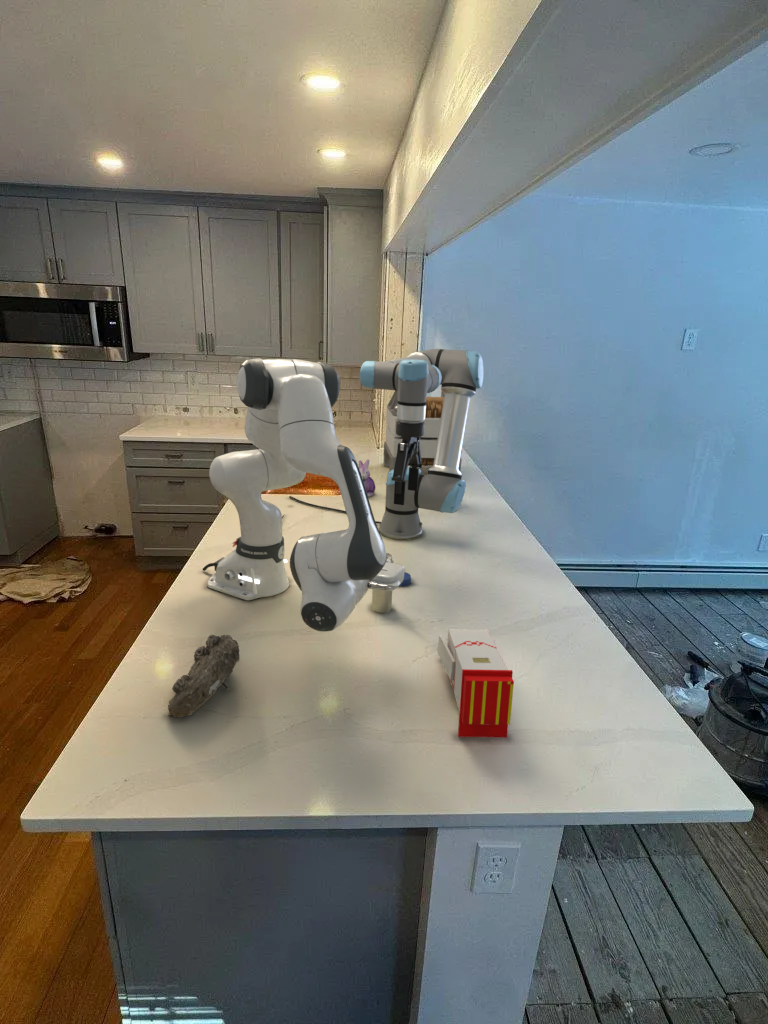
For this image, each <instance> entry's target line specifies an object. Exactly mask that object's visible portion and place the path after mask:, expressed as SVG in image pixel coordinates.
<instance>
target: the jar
mask: <svg viewBox="0 0 768 1024" xmlns="http://www.w3.org/2000/svg"><path fill="white" fill-rule="evenodd" d="M386 557H390V558H391V563H394V564H395V561H394V560H393V555H392V554H391V553H389V552H386ZM371 590H372V591H371V592H372V593H371V595H372V596H371V598H372V599H371V609H372V611H373V612H375V613H379V614H385V613H389V612H391V610H392V606H393V605H392V604H393V591H380V590H375V589H371Z"/></svg>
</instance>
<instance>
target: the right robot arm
mask: <svg viewBox="0 0 768 1024" xmlns="http://www.w3.org/2000/svg"><path fill="white" fill-rule="evenodd" d="M359 382H360V384H361V385H362V387H364V388H366V389H367V388H368V389H371V390H374V389H375V390H385V391H387V390H388V391H394V392H395V391H398V401H397V403H398V404H397V406H396V407H395V409H396V410H397V419H399V420H397V422H396V434H397V435H398V436H401V437H402V438H403V439H402V442H401V443H398V449H397V456H396V461H395V467H394V469H393V470H391V471H390V470H389V472H388V473H387V475H386V482H385V504H384V505H385V507H384V508H385V509H384V513H383V515H382V519H381V521H379V520H378V521H377V520H375V522H376V525H377V524H379V526H378V530H379V532H380V534H381V536H382V537H385V538H387V539H389V540H395V541H410V540H415V539H418V538H420V537H421V536H422V535H423V522H422V521H421V518H420V515H419V509H422V510H427V511H433V512H439V513H447V514H453V513H456V512H457V511H458V510H459V508H460V506H461V505H462V502H463V499H464V496H465V492H466V486H467V484H466V481H465V480H464V479H462V478H463V473H461V472H462V471H461V472H460V471H459V462H460V456H461V457H462V453H461V450H462V451H463V445H464V437H465V431H466V425H467V419H468V414H469V413H468V412H469V407H470V401H471V398H472V397H474V396H475V395H476V392H477V389H478V390H479V389H481V388H482V386H483V383H484V362H483V356H482V355H481V353H480V352H478V351H471V350H468V349H467V350H464V349H463V350H461V349H443V348H431V349H426V350H425V349H424V350H419V351H416V352H412V353H409V354H408V356H405V357H400V358H394V359H389V360H384V361H378V360H365V361H364V362H363V363H362V364H361V366H360V370H359ZM439 387H440V390H441V392H443V393H444V402H443V408H442V414H441V420H440V426H439V433H438V439H437V445H436V451H435V457H434V464H433V466H432V465H431V466H430V467H429V468H428V469H427V473H426V474H424V473H422V468H423V466H422V464H421V449H420V437H422V436H423V435H424V426H425V423H424V422H423V420H425V413H426V397H428V395H427V394H430V393H434V391H436V390H437V389H438V388H439ZM409 462H410V466H408V464H409ZM288 498H289V499H291V500H293V501H294V502H295V501H296V502H297V503H301V504H303V505H306V506H310V507H314V508H317V509H318V508H319V509H323V510H327V511H328V510H329V511H334V512H339V513H344V514H347V513H346V510H343V509H340V508H339V509H338V508H333V507H328V506H322V505H318V504H314V503H309V502H306V501H303V500H300V499H298V498H296V497H294V496H292V495H289V496H288Z"/></svg>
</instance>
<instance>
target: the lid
mask: <svg viewBox="0 0 768 1024" xmlns="http://www.w3.org/2000/svg"><path fill="white" fill-rule="evenodd" d="M411 582H412V576H411V574H410V573H408V572H406V571H404V580H403V582H402V583H401V584H400V585H399V586H398V587H407V586H409V585H411Z"/></svg>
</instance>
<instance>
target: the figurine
mask: <svg viewBox="0 0 768 1024" xmlns="http://www.w3.org/2000/svg"><path fill="white" fill-rule="evenodd" d="M369 465H370V460H369V459H365V462H364V463H363V461H362V460H361V459H360V460H358V467H359V469H360V473H361V476H362V479H363V482H364V485H365V489H366V492H367V495H368V498H370V497H372V496H374V495H375V492H376V483H375V480H374V479H373V478H372V477H371V473H370V470H369Z"/></svg>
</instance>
